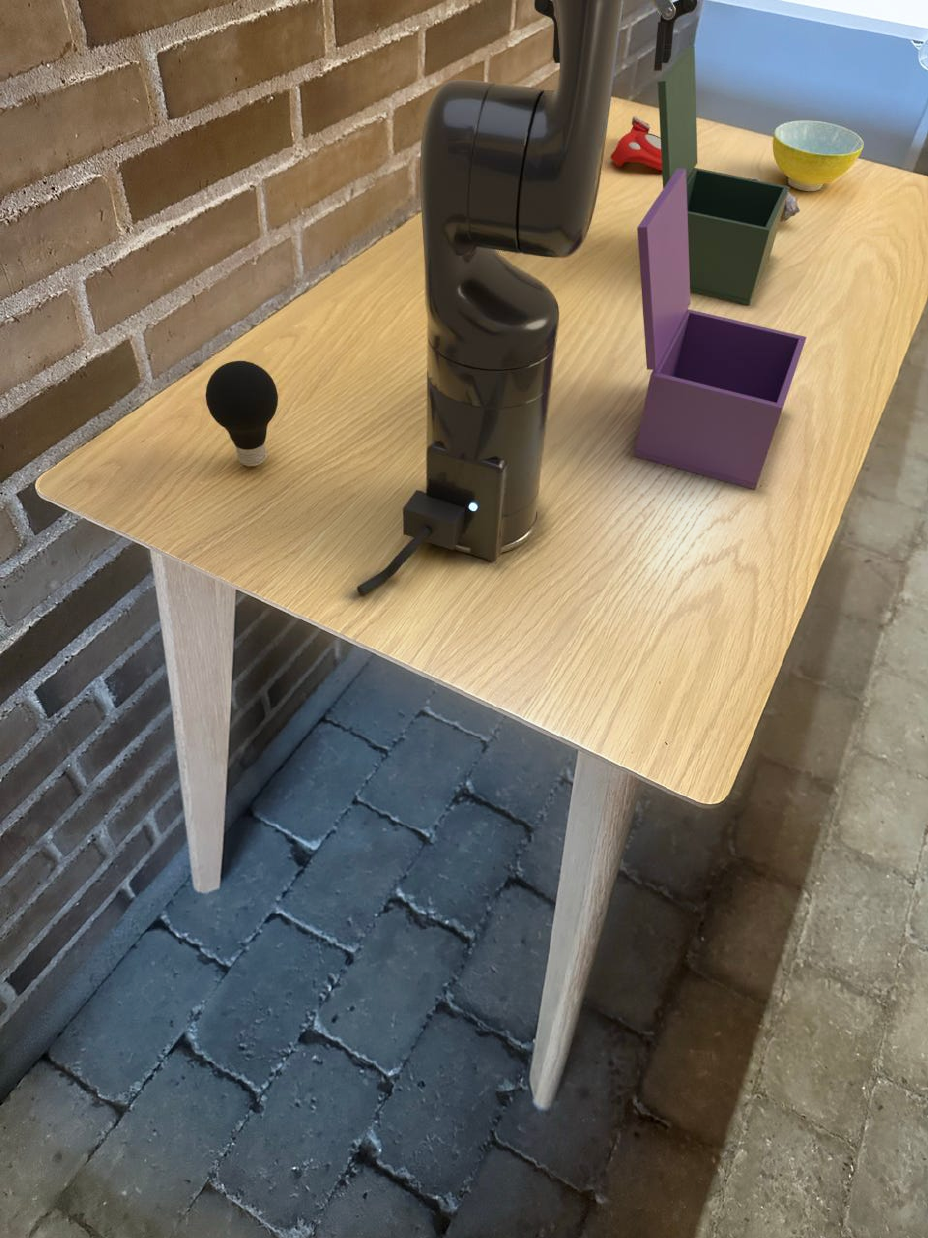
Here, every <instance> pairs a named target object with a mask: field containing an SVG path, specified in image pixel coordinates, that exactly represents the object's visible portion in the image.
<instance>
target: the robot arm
mask: <svg viewBox="0 0 928 1238" xmlns="http://www.w3.org/2000/svg"><path fill="white" fill-rule="evenodd" d="M651 1H652V3H653V5H654V6H655V9H656V10H657V12H658V14H659V15H660V20H659V21H657V30H656V40H655V41H656V42H655V53H654V64H653V72H662V69H663V64H669V62H670V59H671V56H672V47H673V35H674V28H675V27H674V26H675V22H676V21H677V20H678V19H679V18H681V17H683V16H685V15H688V14H691V13H694V11H695V10H696V8H697V6H698V0H675V1H672V0H651ZM533 6H534V10H535V11H536V12H537V13H538V14H540V15H543V16H545V17H547V18H550V19H551V20H552V23H553V41H552V43H553V44H552V59H553V62H554V64H559V74H558V82H557V86H556V89H554V90H551V89H544V88H539V87H538V88H537V87H531V86H530V87H529V86H522V85H515V84H505V83H495V82H490V81H481V80H473V79H452V80H450V81H447V82H445V83H444V84H443V85H441V86H440V87H439V88H438V90H437V91H436V92H435V94H434V96H433V97H432V98H431V99H432V100H431V101H430V104H429V106H428V110H427V112H426V115H425V119H424V123H423V129H422V134H421V141H420V144H421V145H420V158H419V159H420V160H419V186H420V187H419V188H420V189H419V191H420V210H421V225H422V226H421V227H422V241H423V244H422V245H423V262H424V302H425V310H426V311H425V312H426V321H427V323H426V452H425V455H426V457H425V459H426V460H425V461H426V462H425V471H426V472H425V473H426V474H425V481H426V482H425V491H422V490H419V489H416V490H415V491H414V493H412V495H411V496H410V498H409V499H408V500H407V502H406V504H404V506H403V507H402V519H403V520H402V524H403V525H402V526H403V527H402V531H403V535H404V536H407V537H410V538H411V539H410V540H409V542H408V543H407V544H406V545H405V546H404V547H403V548H402V549H401V550H400V551H399V553H397V554H396V556H395V557H394V558H393V559H392V560H391V561H390V563H388V565H387V566H386V567H385V568H384V569H383V570H381V571H380V572H379V573H377V574H376V575H375V576H373V577H371V578H369V579H368V580H366V581H365V582H363V583H361V584H359V585H358V586H357V587H356V590H357V593H358V594H359V595H360V596H361V597H364V596H366V595H367V594H368V593H370V592H372V591H374V590H376V589H377V588H379V587H380V586H382V585H383V584H385V583H386V582H387V581H389V580H390V579H391V578H392V577H393V576H394V575H395V574H397V572H398V571H399V570H400V569H401V568H402V566H403V565H404V564H405V563H406V562H407V561H408V560H409V558H411V557H412V555H413V554H414V553H416V551H417V550H418V549H419V548H420V547H421V546H422V545H423V543H424V542H426V543H429V544H431V545H432V544H433V545H436V546H438V547H442V548H445V549H448V550H451V551H454V550H455V551H457V552H461V553H464V554H468V555H471V556H475V557H478V558H481V559H484V560H487V561H490V562H495V561H497V559H498V557H499V556H500V555H501V554H503V553H506V552H509V551H512V550H514V549H517V548H518V547H520V546H521V545H524V543H526V542H527V541H528V540H529V539H530V537H532V535H533V533H534V531H535V530H536V526H537V521H538V504H539V502H538V501H539V494H540V484H541V475H542V467H543V458H544V450H545V442H546V434H547V433H546V432H547V425H548V415H549V414H548V413H549V407H550V400H551V399H550V398H551V390H552V382H553V375H554V367H555V358H556V352H557V351H556V350H557V342H558V335H559V334H558V333H559V325H560V308H559V303H558V301H557V299H556V297H555V294H554V293H553V292H552V291H551V289H549V287H548V286H547V285H546V284H544V283H543V282H542V281H541V280H539V279H538V278H536V277H535V276H533V275H532V274H530V273H528V272H527V271H525V270H523V269H521V268H520V267H518V266H516V265H515V264H513V263H512V262H510V261H509V260H508V259H506V258H505V257H504V256H502V255H501V254H500V253H499V251H500V252H507V253H514V254H523V255H527V256H532V257H533V256H534V257H542V258H548V259H568V258H570V257H573V256H574V255H575V254H576V253H577V252H578V251H579V249H581V247H582V245H583V243H584V242H585V239H586V237H587V234H588V232H589V229H590V226H591V224H592V220H593V217H594V213H595V210H596V204H597V199H598V194H599V190H600V183H601V176H602V169H603V163H604V155H605V150H606V141H607V134H608V133H607V132H608V125H609V117H610V108H611V101H612V95H613V93H612V92H613V86H614V78H615V77H614V76H615V69H616V62H617V53H618V47H619V46H618V45H619V39H620V38H619V37H620V31H621V24H622V15H623V9H624V8H623V7H624V0H534V4H533Z"/></svg>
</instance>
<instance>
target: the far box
mask: <svg viewBox="0 0 928 1238" xmlns="http://www.w3.org/2000/svg"><path fill="white" fill-rule="evenodd" d="M748 178H749V177H743V176H738V175H732V174H728V173H723V172H717V171H713V170H706V169H702V168H698V167H695V168H694V169H693V171H692V172H691V174H690V175H689V177H688V178H687V180H686V184H687V214H688V244H689V274H690V293H692V294H696V295H697V294H698V295H701V296H706V297H709V298H715V299H719V300H724V301H727V302H733V303H736V304H741V305H745V306H750V304H751V302H752V300H753V297H754V295H755V293H756V291H757V288H758V286H759V283H760V281H761V279H762V276H763V275H764V272H765V270H766V267H767V265H768V263H769V260H770V258H771V254H772V251H773V248H774V244H775V241H776V237H777V233H778V229H779V226H780V223H781V222H780V220H781V216H782V213H783V209H784V206H785V202H786V199H787V195H788V192H789V193H790V191H789V190H790V188H791V186H790V185H783V184H778V183H774V182H768V181H763V180H761V181H758V180H753V179H748Z"/></svg>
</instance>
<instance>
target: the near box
mask: <svg viewBox="0 0 928 1238" xmlns="http://www.w3.org/2000/svg"><path fill="white" fill-rule="evenodd" d="M806 340H807V336H805V335H804V336H803V335H800V334H795V333H791V332H788V331H784V330H783V331H782V330H779V329H774V328H770V327H766V326H762V325H757V324H753V323H748V322H745V321H740V320H736V319H732V318H727V317H723V316H719V315H715V314H711V313H710V314H709V313H706V312H701V311H698V310H693V309H689V308H688V309H687V311H686V313H685V315H684V317H683V319H682V321H681V323H680V325H679V326H678V328H677V330H676V332H675V334H674V336H673V338H672V340H671V342H670V344H669V346H668V348H667V349H666V351H665V353H664V355H663V357H662V359H661V361H660V363H659V365H658V367H657V369H656V370H651V372H650V375H649V379H648V385H647V388H646V389H647V390H646V394H645V399H644V404H643V409H642V414H641V419H640V424H639V428H638V432H637V438H636V441H635V447H634V451H633V456H634V457H636V458H639V459H644V460H646V461H647V460H648V461H651V462H655V463H658V464H662V465H665V466H669V467H672V468H676V469H679V470H683V471H687V472H691V473H693V474H697V475H701V476H705V477H708V478H712V479H715V480H718V481H723V482H727V483H729V484H734V485H738V486H741V487H744V488H747V489H752V490H756V488H757V486H758V483H759V480H760V477H761V474H762V471H763V468H764V466H765V462H766V460H767V459H766V458H767V457H768V453H769V450H770V447H771V445H772V442H773V439H774V435H775V432H776V430H777V427H778V425H779V421H780V418H781V415H782V413H783V409H784V406H785V403H786V400H787V397H788V394H789V391H790V388H791V385H792V382H793V379H794V376H795V374H796V371H797V367H798V365H799V361H800V359H801V356H802V352H803V349H804V346H805V344H806Z"/></svg>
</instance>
